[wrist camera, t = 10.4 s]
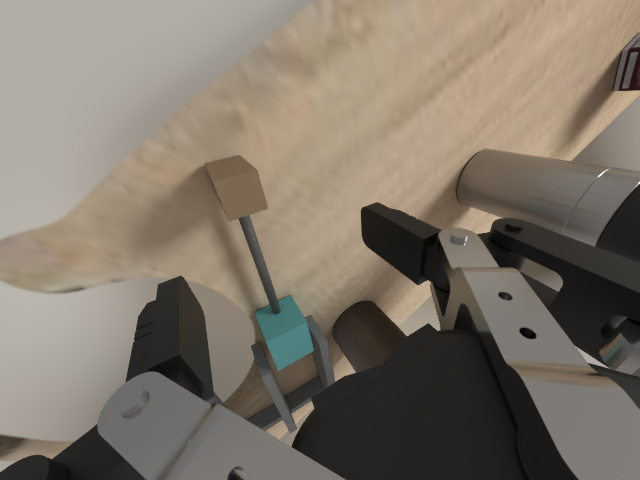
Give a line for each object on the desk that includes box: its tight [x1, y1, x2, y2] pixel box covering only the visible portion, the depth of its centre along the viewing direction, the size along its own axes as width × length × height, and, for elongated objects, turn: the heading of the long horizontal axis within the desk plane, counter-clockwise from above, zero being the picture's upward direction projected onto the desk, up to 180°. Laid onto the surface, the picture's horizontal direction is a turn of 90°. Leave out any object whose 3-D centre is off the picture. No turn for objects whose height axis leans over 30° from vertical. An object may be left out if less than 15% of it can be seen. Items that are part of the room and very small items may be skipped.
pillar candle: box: [333, 301, 407, 373], centre depth 37 cm, size 10×10×15 cm
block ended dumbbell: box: [205, 155, 314, 371], centre depth 25 cm, size 5×24×6 cm, turn 9°
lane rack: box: [206, 315, 335, 433], centre depth 36 cm, size 17×18×5 cm
